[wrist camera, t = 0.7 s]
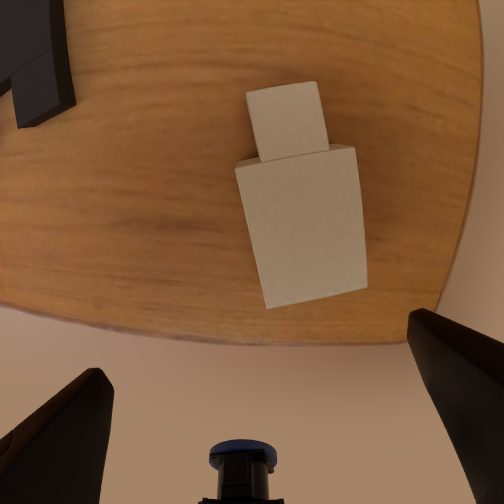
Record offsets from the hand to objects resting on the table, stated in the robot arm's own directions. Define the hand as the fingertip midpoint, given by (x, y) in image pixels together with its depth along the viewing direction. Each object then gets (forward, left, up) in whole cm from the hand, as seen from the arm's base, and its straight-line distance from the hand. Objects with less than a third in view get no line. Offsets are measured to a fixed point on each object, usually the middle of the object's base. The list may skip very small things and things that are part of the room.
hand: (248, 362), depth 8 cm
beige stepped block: (+2, -3, -12) cm, 12 cm away
